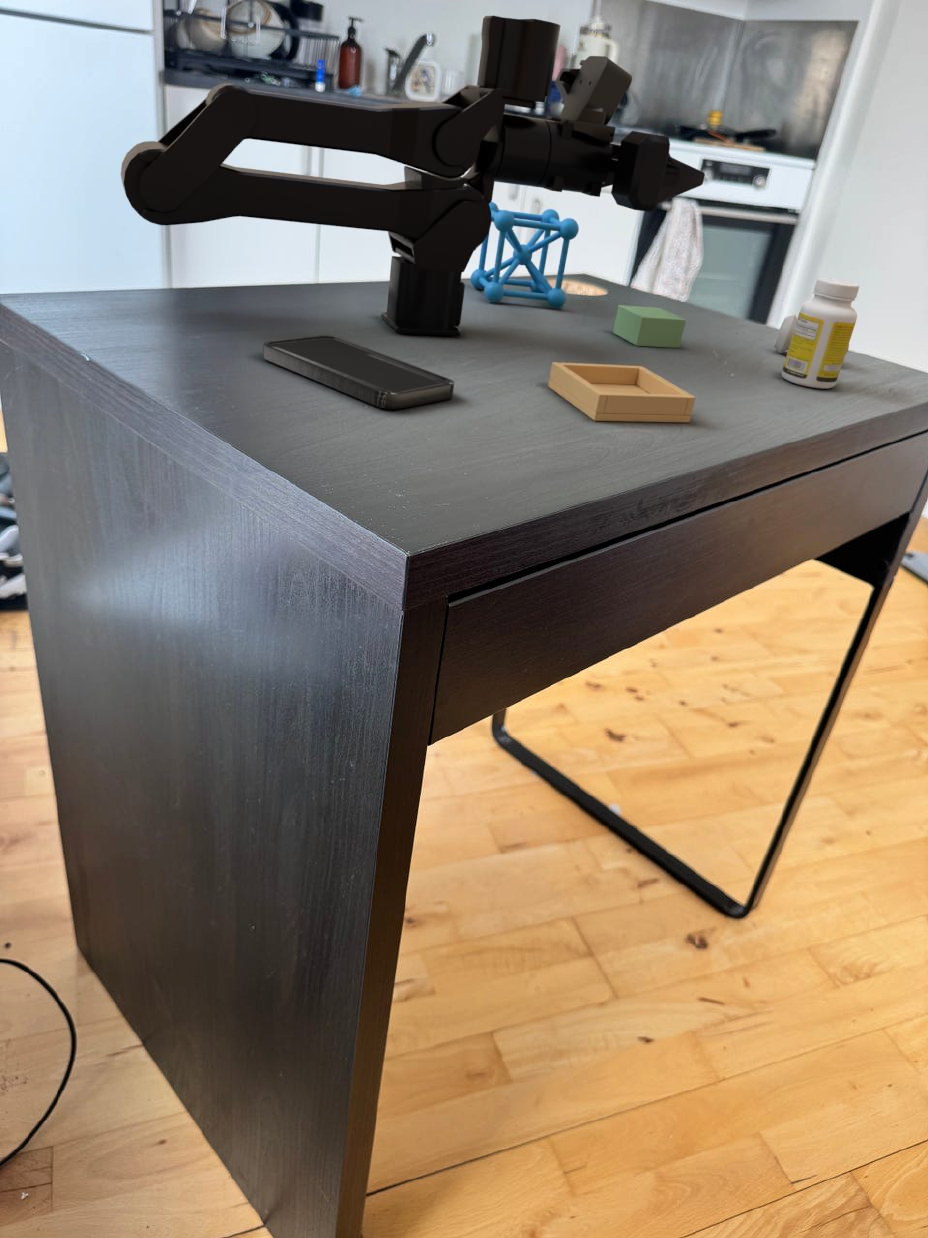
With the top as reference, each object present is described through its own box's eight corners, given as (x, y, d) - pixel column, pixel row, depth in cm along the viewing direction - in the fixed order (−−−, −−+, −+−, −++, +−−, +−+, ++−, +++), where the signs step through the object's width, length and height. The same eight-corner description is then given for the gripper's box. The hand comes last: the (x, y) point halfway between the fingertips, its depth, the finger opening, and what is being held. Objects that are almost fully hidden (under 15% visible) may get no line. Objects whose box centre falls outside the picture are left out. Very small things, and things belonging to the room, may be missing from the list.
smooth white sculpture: (842, 374, 104) (838, 366, 100) (773, 355, 108) (766, 347, 103) (857, 336, 103) (854, 327, 99) (788, 318, 107) (781, 308, 102)
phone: (388, 395, 66) (257, 341, 73) (387, 411, 66) (257, 355, 74) (461, 382, 71) (331, 333, 79) (459, 397, 72) (331, 346, 79)
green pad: (636, 345, 97) (642, 316, 96) (612, 332, 102) (618, 304, 100) (679, 348, 99) (686, 319, 98) (654, 335, 104) (660, 307, 102)
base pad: (594, 420, 71) (599, 394, 70) (547, 386, 78) (552, 361, 77) (689, 422, 75) (696, 397, 74) (636, 389, 82) (642, 365, 80)
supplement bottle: (833, 381, 95) (866, 283, 90) (834, 393, 90) (869, 290, 86) (780, 370, 96) (810, 272, 91) (779, 381, 92) (810, 279, 87)
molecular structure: (566, 311, 109) (583, 220, 104) (485, 303, 106) (498, 209, 102) (543, 293, 117) (558, 208, 112) (467, 285, 115) (479, 198, 110)
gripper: (601, 55, 75) (756, 84, 81) (514, 52, 90) (650, 77, 96) (574, 203, 81) (721, 220, 86) (496, 176, 95) (626, 193, 101)
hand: (678, 172), depth 92 cm, fingers open, 9 cm apart
